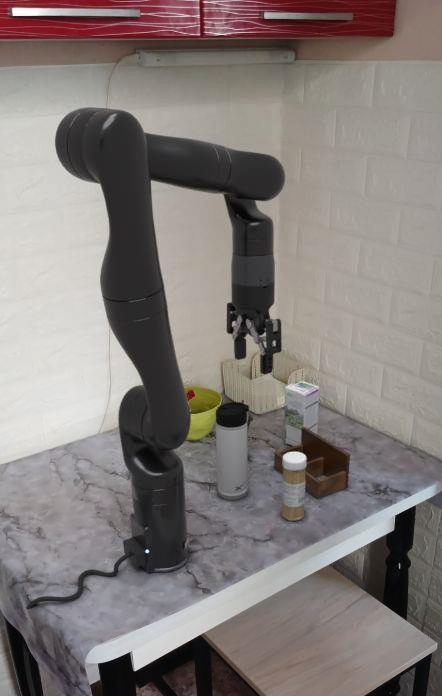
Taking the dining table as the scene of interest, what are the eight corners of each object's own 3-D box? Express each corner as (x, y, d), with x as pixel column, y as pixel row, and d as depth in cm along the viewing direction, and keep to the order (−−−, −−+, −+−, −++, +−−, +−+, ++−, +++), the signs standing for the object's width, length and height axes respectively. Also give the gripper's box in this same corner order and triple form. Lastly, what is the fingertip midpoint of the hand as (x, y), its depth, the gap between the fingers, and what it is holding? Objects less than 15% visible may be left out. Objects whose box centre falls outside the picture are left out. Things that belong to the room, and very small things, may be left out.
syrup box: (318, 442, 177) (320, 385, 170) (302, 451, 174) (304, 393, 166) (298, 435, 181) (300, 378, 173) (283, 444, 177) (284, 386, 170)
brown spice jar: (294, 507, 153) (296, 448, 147) (309, 516, 150) (311, 457, 143) (276, 514, 151) (277, 455, 144) (291, 524, 148) (293, 464, 141)
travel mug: (246, 502, 156) (245, 413, 145) (215, 499, 157) (212, 411, 147) (251, 486, 161) (251, 400, 151) (221, 484, 162) (218, 398, 152)
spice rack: (317, 499, 156) (318, 465, 152) (273, 468, 167) (274, 436, 163) (347, 487, 159) (350, 454, 155) (303, 458, 171) (304, 426, 167)
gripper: (213, 272, 135) (215, 358, 143) (258, 291, 124) (258, 383, 133) (248, 265, 138) (248, 350, 146) (295, 283, 128) (292, 373, 136)
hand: (253, 365), depth 140 cm, fingers open, 8 cm apart
